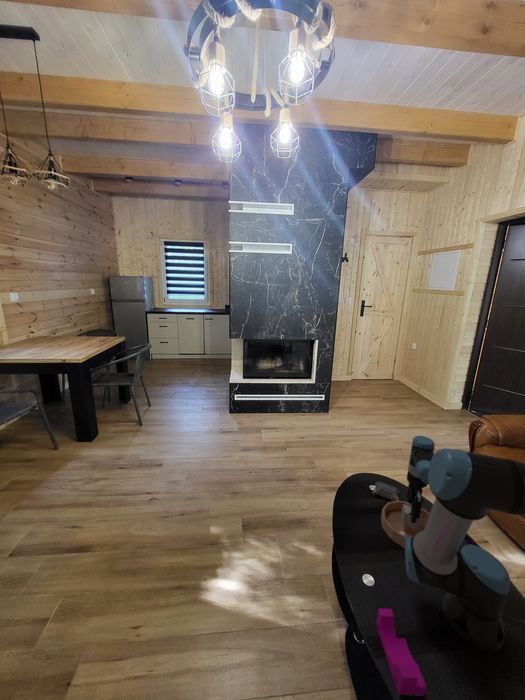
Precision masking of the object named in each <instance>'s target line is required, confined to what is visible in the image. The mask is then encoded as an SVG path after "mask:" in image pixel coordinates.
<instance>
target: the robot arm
mask: <svg viewBox="0 0 525 700" xmlns="http://www.w3.org/2000/svg"><path fill="white" fill-rule="evenodd" d="M435 444H436V443H435V441H434V440H433V439H431V438H429V437H426V436H423V435H416V436H414V437H413V439H412V443H411V450H410V455H409V461H408V467H407V475H406V480H407V482H408V484H407V485H408V486H407V492H406V499H407V501H406V502H408V503H407V505H408V506H411V513H410V512H409V521H408V527H410V528H414V529H415V528H416V522H417V518H418V519H419V518H420V513H421V508H422V506H423V502H424V498H423V497H422V495H423V489H424V488H427V486H429V487H428V488H429V490H430V492H431V494H433V496H434V497H435V499H434V502H433V504H432V507H431V509H430V512H429V514H430V515H429V517H428V520H427V522H426V525H425V528H424V530H423V531H421V532H419V533H417V534H416V535H415V537H414V538H413V537H412V536H410V537H409V536H406V537H405V549H404V554H405V570H406V575H407V577H408V578H409V580H410V581H413V582H414V583H417V584H419V585H423V586H425V587H430V588H433V589H436V590H439V591H441V592H446V594H444V597H443V602H442V611H443V614H444V616H445V618H446V621H447V623H448V624H449V625H450V627H451V628H452V629H453V630H454V632H455V633H456V634H457V635H458V636H459V637H460V638H461V639H462V640H463V641H465V642H466V643H467V644H468V645H470V646H472V647H474V648H476V649H478V650H481V651H484V652H490V653H492V652H493V653H494V652H497V651H499V650H500V649H501V648H502V647H503V644H504V641H505V629H504V625H503V620H502V616H503V611H504V608H505V605H506V600H507V596H508V594H509V593H510V584H511V577H510V575H509V572H508V570H507V568H506V567H505V566H504V564H503V563H502V562H501V561H500V560H499V559H498V558H496V557H495V556H494V554H492V553H491V552H489V551H488V550H487V549H485V548H482V547H481V546H478V545H474V544H466V545H463V546H462V547H461V544H462V543H463V541H464V539H465V537H466V536H467V534H468V532H469V530H470V528H471V526H472V524H473V522H474V521H480V520H482V519H484V518H485V517H487V515H488V513H489V511H490V510H491V511H496V512H501V513H504V514H505V513H506V514H509V515H513V516H518V517H519V516H520V517H525V462H522V461H519V460H515V459H509V458H503V457H499V456H498V457H497V456H492V455H486V454H480V453H475V452H470V451H465V450H463V449H460V448H458V449H457V448H455V449H452V448H445V447H444V448H440V449H437V450H436V451H435ZM434 452H435V453H434ZM460 547H461V550H460V549H459V548H460Z"/></svg>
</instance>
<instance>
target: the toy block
mask: <svg viewBox="0 0 525 700" xmlns="http://www.w3.org/2000/svg"><path fill="white" fill-rule="evenodd" d="M375 626H376V628H377V632H378V634H379V637H380V641H381V644H382V647H383V650H384V653H385V656H386V659H387V662H388V666H389V668H390V672H391V675H392V677H393V681H394V684H395V687H396V686H397V687H396V689H398V690H397V692H398V691H399V693H398V695H399V694H417V695H426V691H427V683H426V682H425V680H424V677H423V674H422V672H421V671H420V667H419V664H417V663H416V661H415V660H414V658H413V656H412V654H411V651H410V649H409V646H408V643H407V640H406V637H405V638H403V637H401V638H400V637H399V638H398V637H397V634H396V629H395V628H396V627H395V615H394V612H393V610H392V608H382V607H381V608H380V607H379V608H378V610H377V615H376V623H375Z"/></svg>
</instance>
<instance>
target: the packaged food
mask: <svg viewBox="0 0 525 700" xmlns="http://www.w3.org/2000/svg"><path fill="white" fill-rule="evenodd" d="M374 486H375V487H376V488H375V489H374V490H373V491H372V492H371V493H373V494H376V495H377V496H380V497H383V498H386V499H388V500H391V501H392V502H393V501H400V499H399V498H400V497H399V494H400V493H401V491H400V490H399V488H397V487H396V486H393V485H390V484H388V483H385V482H383V481H376V482H375V483H374Z"/></svg>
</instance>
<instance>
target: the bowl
mask: <svg viewBox="0 0 525 700" xmlns="http://www.w3.org/2000/svg"><path fill="white" fill-rule="evenodd" d="M407 503H408V502H407V501H403V500H399V501H393V500H392V501H388V502H387V503H385V505H384V506H383V507H382V508H381V509H382V510H381V516H380V520H381V526H382V529H383V531H384V532H385V534H386V535H387V536H388V537H389V539H390V538H391V539H392V540H393V541H392V540H391V539H390V540H391V541H392V542H394V543H395V542H396V543H395V544H397V545H398V544H399V546H400V547H402V548H403V549H404V550H405V537H406V536H409V537H410V536H412V537H413V538H414V537H415V535H416V534H417V533H419V532H421V531H423V530H424V528H425V525H426V522H427V520H428V517H429V515H430V512H428V511H427V510H426V509H425V508H422V507H421V513H420V514H421V522H420V527H419V529H417V528H415V529H414V528H410V527H408V526H404V525H403V522H402V518H401V514H402V507H403V504H404V505H407Z"/></svg>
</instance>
